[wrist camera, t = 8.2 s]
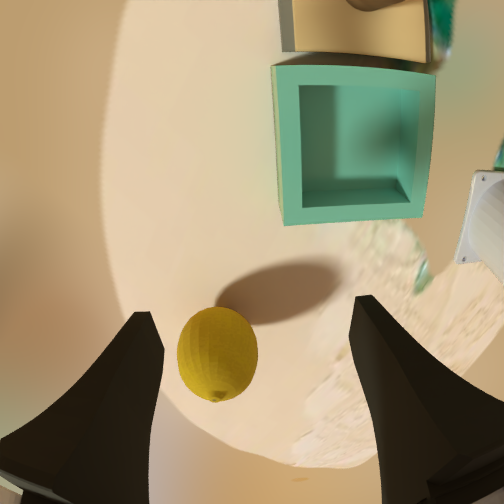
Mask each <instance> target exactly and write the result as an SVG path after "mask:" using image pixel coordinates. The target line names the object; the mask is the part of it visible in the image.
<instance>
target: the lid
mask: <svg viewBox="0 0 504 504" xmlns="http://www.w3.org/2000/svg"><path fill="white" fill-rule="evenodd" d="M292 6H293V20H294V37H295V52H331V53H347V54H359V55H369V56H378V57H386V58H394V59H401V60H407V61H413V62H419V63H426V51H425V22H424V7H423V0H292Z"/></svg>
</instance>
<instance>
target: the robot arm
mask: <svg viewBox="0 0 504 504" xmlns="http://www.w3.org/2000/svg"><path fill="white" fill-rule="evenodd" d="M483 176H484V177H483ZM482 177H483V179H482ZM463 257H464V258H463ZM479 261H483V262H484V263H485V265H486V266H487V267H488V268H489V269H490V270H491V272H492V273H493V274H494V275H495V276H496V278H497V279H498V280H499V281H500V282H501V284H502V285H503V286H504V172H503V171H490V170H476V171H475V172H474V173H473V176H472V182H471V187H470V192H469V197H468V202H467V207H466V212H465V217H464V220H463V225H462V229H461V233H460V237H459V240H458V245H457V248H456V251H455V255H454V262H455V263H456V264H464V263H472V262H479ZM349 341H350V346H351V351H352V356H353V360H354V364H355V367H356V370H357V373H358V376H359V379H360V382H361V385H362V388H363V391H364V394H365V397H366V400H367V403H368V407H369V410H370V413H371V417H372V421H373V427H374V432H375V438H376V444H377V451H378V458H379V466H380V477H381V490H382V504H504V402H503V401H501V400H498V399H496V398H494V397H493V396H491V395H489V394H487V393H485V392H483V391H482V390H480V389H478V388H477V387H475V386H473V385H472V384H470V383H469V382H467V381H466V380H464V379H463V378H461V377H460V376H458V375H457V374H455V373H454V372H453V371H451V370H450V369H449V368H447V367H446V366H445V365H444V364H442V363H441V362H440V361H438V360H437V359H436V358H435V357H434V356H432V355H431V354H430V353H429V352H428V351H427V350H426V349H425V348H423V347H422V346H421V345H420V344H419V343H418V342H417V341H416V340H415V339H414V338H413V337H412V336H411V335H410V334H409V333H408V332H407V331H406V330H405V329H404V328H403V327H402V326H401V325H400V324H399V323H398V322H397V321H396V320H395V319H394V318H393V317H392V316H391V314H390V313H389V312H388V311H387V310H386V309H385V308H384V307H383V306H382V305H381V304H380V303H379V302H378V301H377V300H376V299H375V297H374V296H373V295H365V296H356V297H355V303H354V309H353V315H352V320H351V326H350V331H349ZM164 350H165V349H164V346H163V344H162V341H161V339H160V336H159V334H158V331H157V329H156V326H155V323H154V321H153V318H152V316H151V313H150V311H148V312H134V313H133V314H132V316H131V317H130V318H129V319H128V321H127V322H126V323H125V324H124V326H123V327H122V328H121V330H120V331H119V332H118V333H117V335H116V336H115V337H114V339H113V340H112V341H111V342H110V344H109V345H108V346H107V347H106V349H105V350H104V351H103V352H102V354H101V355H100V356H99V357H98V359H97V360H96V361H95V362H94V363H93V364H92V365H91V367H90V368H89V369H88V370H87V371H86V372H85V374H84V375H83V376H82V377H81V378H80V379H79V380H78V381H77V382H76V383H75V384H74V385H73V386H72V387H71V388H70V389H69V390H68V391H67V392H66V393H65V394H64V395H63V396H61V397H60V398H59V399H58V400H57V401H56V402H54V403H53V404H52V405H51V406H50V407H48V409H46V410H45V411H44V412H42V413H41V414H40V415H38V416H37V417H36V418H34V419H33V420H31V421H30V422H28V423H27V424H25V425H24V426H22V427H21V428H19V429H17V430H16V431H14V432H12V433H10V434H9V435H7V436H5V437H3V438H1V440H0V476H1V477H3V478H5V479H6V480H7V481H9V482H11V483H12V484H14V485H16V486H17V487H19V488H21V489H23V494H22V496H21V495H20V494H18V493H15V492H13V491H11V490H9V489H7V488H5V487H3V486H1V485H0V504H149V486H148V485H149V484H148V470H149V446H150V433H151V425H152V421H153V416H154V411H155V406H156V402H157V397H158V392H159V388H160V383H161V378H162V373H163V363H164Z"/></svg>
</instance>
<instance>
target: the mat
mask: <svg viewBox="0 0 504 504" xmlns="http://www.w3.org/2000/svg"><path fill="white" fill-rule="evenodd" d="M278 7H279V18H280V30H281V42H282V52H295V37H294V20H293V6H292V0H278ZM423 7H424V22H425V51H426V62H431V50H430V28H429V14H428V3H427V0H423Z"/></svg>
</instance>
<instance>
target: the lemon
mask: <svg viewBox="0 0 504 504" xmlns="http://www.w3.org/2000/svg"><path fill="white" fill-rule="evenodd" d="M177 360H178V367H179V372H180V375H181V378H182V380H183V381H184V383H185V385H186V386H187V387H188V388H189V389H190V390H191V391H192V392H193V393H194V394H196V395H197V396H199V397H201V398H203V399H206V400H210V401H211V402H219V401H225V400H229V399H232V398H234V397H236V396H238V395H239V394H241V393H242V392H243V391H244V390H245V389H246V388H247V387H248V386H249V384H250V383H251V381H252V378H253V376H254V373H255V370H256V366H257V360H258V348H257V340H256V336H255V334H254V331H253V329H252V327H251V325H250V324H249V322H248V321H247V320H246V319H245V318H244V317H243V316H242V315H240V314H239V313H237V312H236V311H234V310H231V309H229V308H224V307H211V308H207V309H204V310H202V311H199V312H198V313H197V314H195V315H194V316H193V317H191V318H190V319H189V321H188V322H187V323H186V325H185V326H184V328H183V330H182V332H181V335H180V338H179V342H178V347H177Z"/></svg>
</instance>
